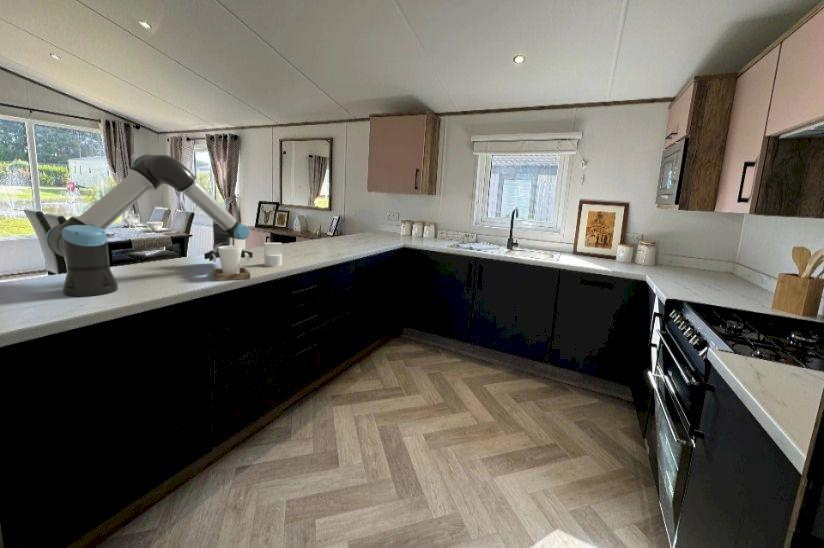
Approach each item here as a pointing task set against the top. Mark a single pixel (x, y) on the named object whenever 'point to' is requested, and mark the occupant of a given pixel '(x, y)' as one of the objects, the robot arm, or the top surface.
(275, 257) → the glass of milk
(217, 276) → the walnut frame
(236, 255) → the foam cup
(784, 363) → the top surface
